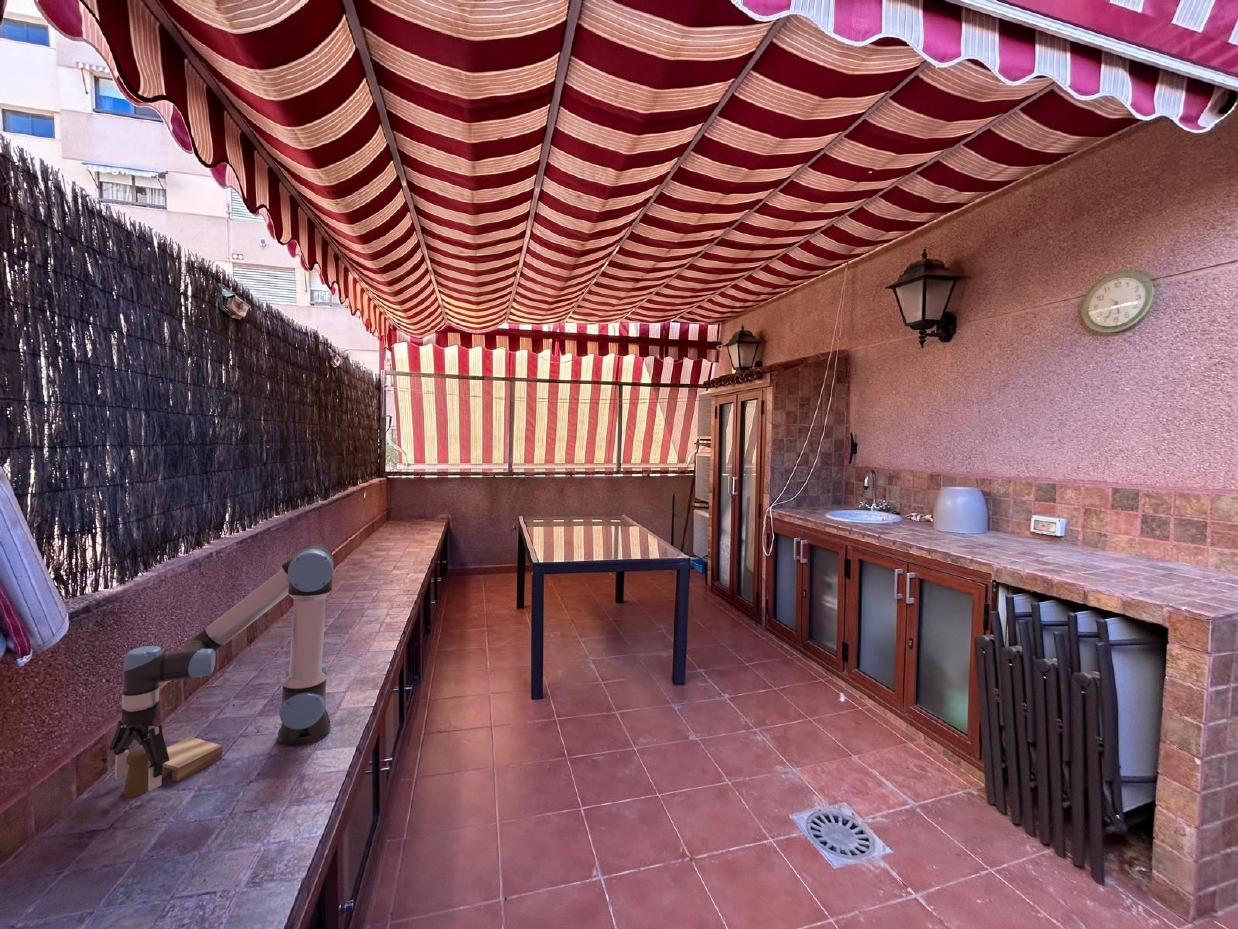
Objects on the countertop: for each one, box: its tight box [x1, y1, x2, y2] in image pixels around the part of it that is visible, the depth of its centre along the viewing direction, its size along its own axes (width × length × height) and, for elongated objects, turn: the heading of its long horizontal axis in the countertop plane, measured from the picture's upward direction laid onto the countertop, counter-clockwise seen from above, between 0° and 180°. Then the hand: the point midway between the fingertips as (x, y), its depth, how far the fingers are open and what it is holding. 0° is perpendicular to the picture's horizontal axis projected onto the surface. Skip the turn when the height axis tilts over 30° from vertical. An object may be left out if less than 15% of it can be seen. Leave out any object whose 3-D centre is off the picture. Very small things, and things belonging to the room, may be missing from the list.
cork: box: [123, 747, 150, 798], centre depth 141 cm, size 6×6×11 cm
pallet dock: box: [150, 736, 223, 782], centre depth 153 cm, size 14×12×4 cm
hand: (137, 782), depth 141 cm, fingers open, 13 cm apart
